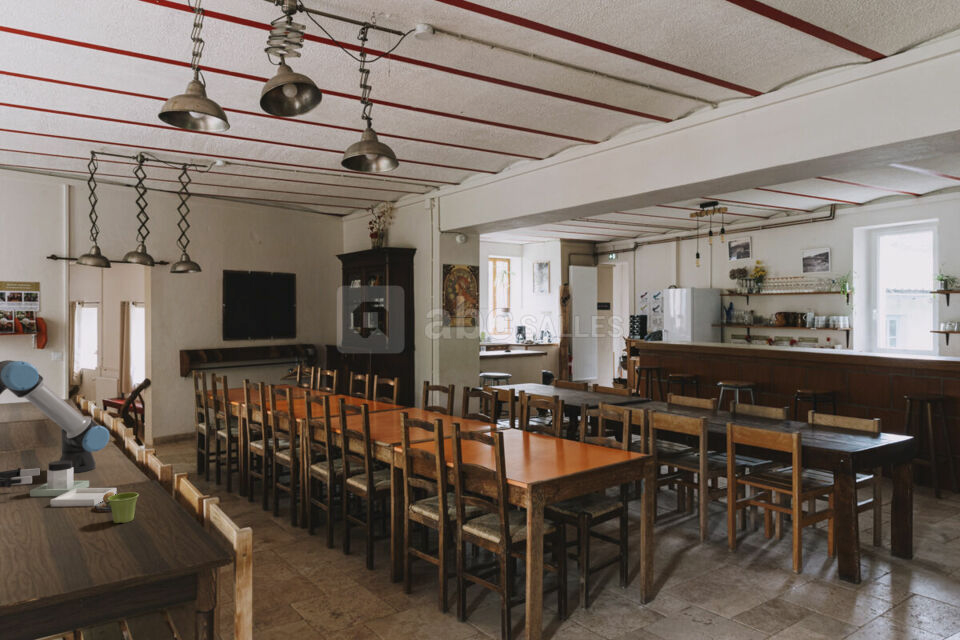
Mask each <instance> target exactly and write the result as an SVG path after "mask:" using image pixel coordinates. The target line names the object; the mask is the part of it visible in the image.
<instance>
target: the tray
mask: <svg viewBox="0 0 960 640" xmlns="http://www.w3.org/2000/svg"><path fill="white" fill-rule="evenodd" d="M117 490H118V489H117V487H87V488H75V489H73V490H71V491H69V492H67V493H65V494H62V495H60V496H55V497H54V498H52V499H50V507H95V505H96V504H98V503H100V502H102V501H103V497H104V495H105V494H106V493H109V492H113V493H114V495H115V494H118V493H117V492H118V491H117ZM105 491H106V492H105ZM103 502H104V501H103Z"/></svg>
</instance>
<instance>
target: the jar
mask: <svg viewBox="0 0 960 640" xmlns="http://www.w3.org/2000/svg"><path fill="white" fill-rule="evenodd" d="M46 474H47V476H46V480H47V481H46V483H47V489H68V488H70V487H72V486H74V481H75V480H74V474H75V473H74V467H72V461H71V460H60V459H59V460H54V461H51V462H49V463H48V469H47V470H46Z"/></svg>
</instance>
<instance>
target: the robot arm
mask: <svg viewBox="0 0 960 640" xmlns="http://www.w3.org/2000/svg"><path fill="white" fill-rule="evenodd" d="M6 390H8V391H9V392H11V393H12V394H14V396H15V397H17V398H18V399H19V398H21V399H23V398H25V399H26V400H27V401H28V402H30V403H31V404H32V405H33V406H34V407H36V408H37V409H38V410H40V411H41V412H42V413H43V414H44V415H45V416H47V417H48V418H49V419H50V420H52V421H53V422H54V423H56V424H57V426H60V427H61V430H60V431H61V455H60V458H59V461H60V460H71V461H72V467H74V474H77V473H83V472H87V471H92V470H94V469H96V461H95V457H94V456H93V452H94V453H96V452H99V451H101V450H103V449H104V448H105V447H106V446H107V445H108V443H109V441H110V436H111V435H110V432H109V430H108V429H107V428H106V427H104V426H102V425H99V424H98V423H97V422H95V421H94V420H93V419H92V418H91V417H89V416H86V417H84V416H83V415H81V414H80V413H79V412H78V411H77V410H76V409H74V408H73V407H72V406H71V405H70V404H68V403H67V402H66V401H65V400H64V399H63V398H61V396H59V395H58V394H57V393H55V392H54V390H52V389H51V388H50V387H48V386H47V385H46V384H45V383H44V377H43V376H42V375H41V374H40V373H39V370H38V369H37V368H36V367H35V366H34V365H33V364H32V363H29V362H27V361H23V360H10V359H9V360H7V359H6V360H2V361H0V396H1V395H2V394H3V393H4V391H6ZM40 473H41V470H40V468H39V467H38V468H29V469H22V468H21V467H18V468H17V469H16V468H15V469H9V470H3V471H0V488H11V487H12V486H15V485H17V486H18V485H28V484H32V483H33V477H35V476H40Z"/></svg>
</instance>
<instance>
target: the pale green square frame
mask: <svg viewBox="0 0 960 640" xmlns="http://www.w3.org/2000/svg"><path fill="white" fill-rule="evenodd" d="M75 488H90V480H74V486H72V487H70V488H68V489H47V482H46V483H44V484H42V485H40V486H36V487H34V488H32V489H30V490H29V496H30V497H58V496H60V495H62V494H65V493H67V492H69V491H71V490H73V489H75Z"/></svg>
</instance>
